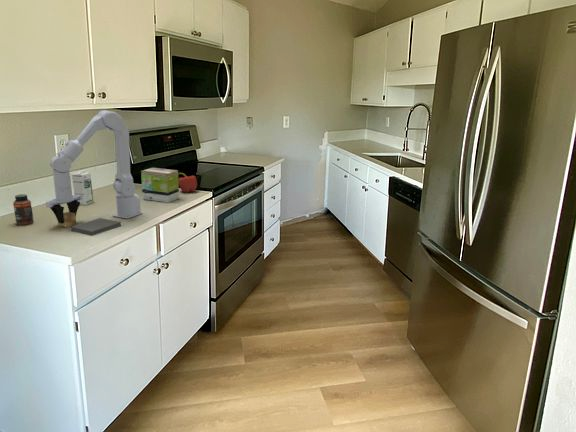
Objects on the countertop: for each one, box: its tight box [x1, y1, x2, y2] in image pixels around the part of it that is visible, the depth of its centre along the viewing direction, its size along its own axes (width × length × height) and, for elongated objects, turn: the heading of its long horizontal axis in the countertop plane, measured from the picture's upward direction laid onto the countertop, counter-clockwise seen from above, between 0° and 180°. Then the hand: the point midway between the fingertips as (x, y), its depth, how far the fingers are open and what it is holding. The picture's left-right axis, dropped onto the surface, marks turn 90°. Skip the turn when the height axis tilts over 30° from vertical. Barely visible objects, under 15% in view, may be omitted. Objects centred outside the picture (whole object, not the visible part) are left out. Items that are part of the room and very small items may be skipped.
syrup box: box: [71, 171, 94, 206], centre depth 196 cm, size 6×6×14 cm
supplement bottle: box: [12, 193, 34, 226], centre depth 166 cm, size 6×6×11 cm
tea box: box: [140, 167, 180, 204], centre depth 209 cm, size 15×10×15 cm, turn 73°
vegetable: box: [178, 172, 198, 193], centre depth 227 cm, size 11×10×10 cm
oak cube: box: [57, 211, 77, 228], centre depth 167 cm, size 4×4×4 cm
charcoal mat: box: [70, 217, 122, 236], centre depth 164 cm, size 14×11×2 cm
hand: (67, 221), depth 167 cm, fingers open, 5 cm apart
